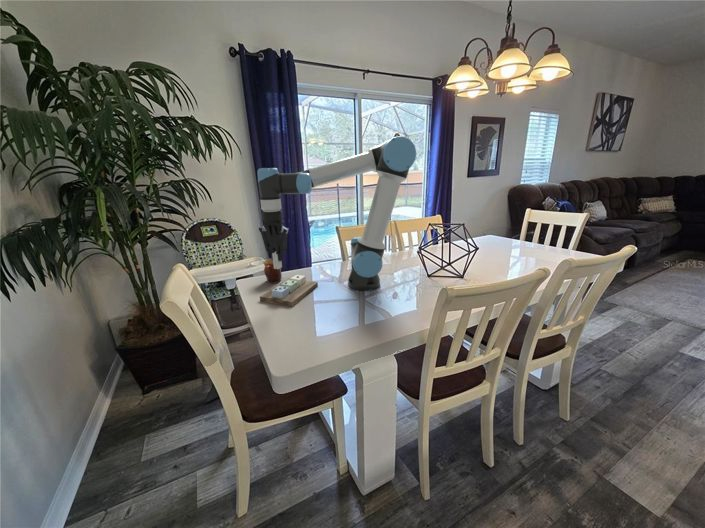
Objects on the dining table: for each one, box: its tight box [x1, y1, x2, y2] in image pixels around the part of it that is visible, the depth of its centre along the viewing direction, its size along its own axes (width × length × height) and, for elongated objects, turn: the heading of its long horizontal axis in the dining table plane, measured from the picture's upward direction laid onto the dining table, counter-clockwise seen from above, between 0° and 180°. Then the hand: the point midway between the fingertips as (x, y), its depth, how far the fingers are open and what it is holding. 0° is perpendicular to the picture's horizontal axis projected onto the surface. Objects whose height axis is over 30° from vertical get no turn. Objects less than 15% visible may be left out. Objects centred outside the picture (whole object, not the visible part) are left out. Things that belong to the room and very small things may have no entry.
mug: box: [262, 258, 282, 283], centre depth 140 cm, size 12×9×10 cm
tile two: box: [282, 279, 298, 292], centre depth 128 cm, size 5×5×4 cm
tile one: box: [290, 274, 307, 286], centre depth 134 cm, size 5×5×4 cm
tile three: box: [272, 286, 289, 299], centre depth 121 cm, size 5×5×4 cm
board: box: [259, 278, 319, 307], centre depth 128 cm, size 16×22×2 cm
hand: (278, 267), depth 118 cm, fingers closed
